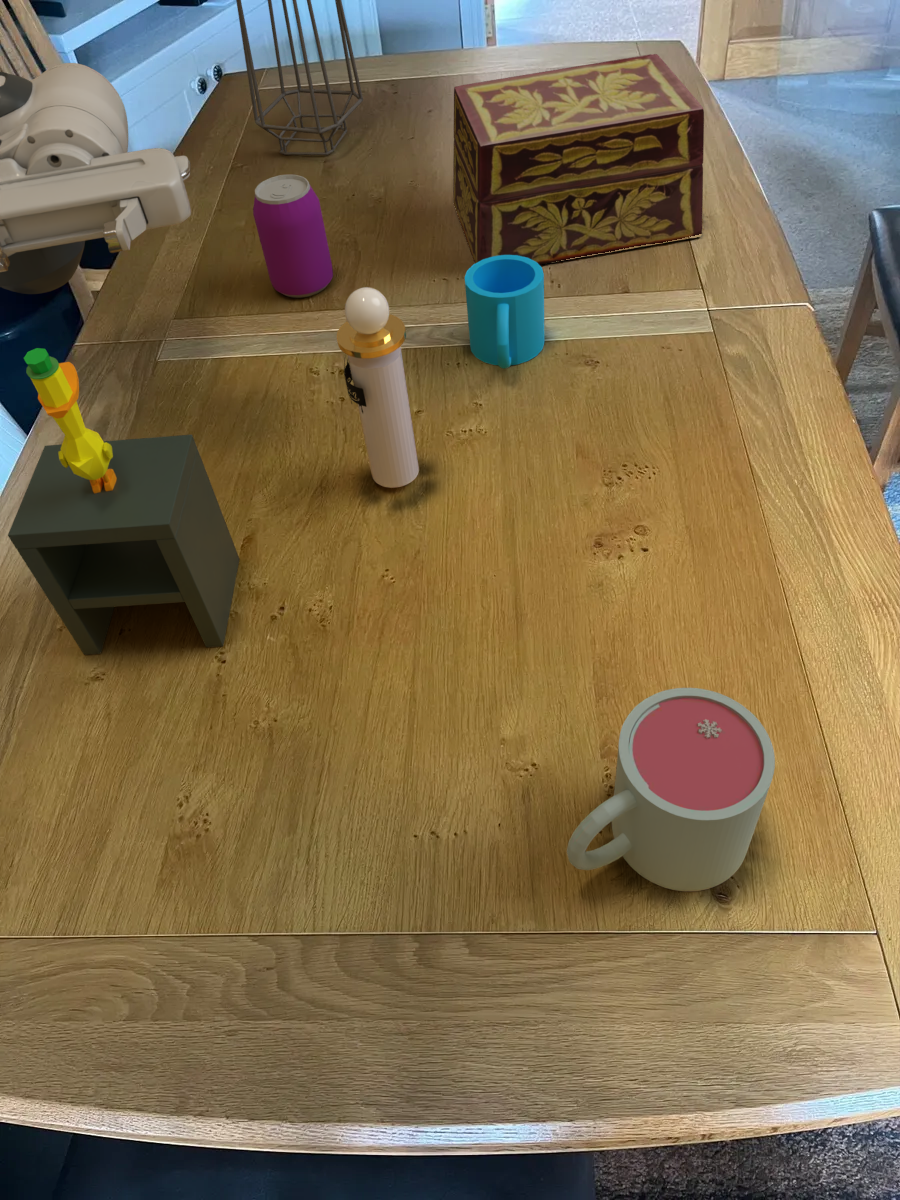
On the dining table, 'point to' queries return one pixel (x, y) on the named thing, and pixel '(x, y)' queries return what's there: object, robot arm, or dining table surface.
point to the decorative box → (578, 160)
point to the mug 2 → (682, 791)
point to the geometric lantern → (251, 73)
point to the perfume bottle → (379, 385)
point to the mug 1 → (505, 309)
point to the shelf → (129, 539)
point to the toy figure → (70, 419)
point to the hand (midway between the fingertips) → (54, 253)
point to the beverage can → (292, 236)
